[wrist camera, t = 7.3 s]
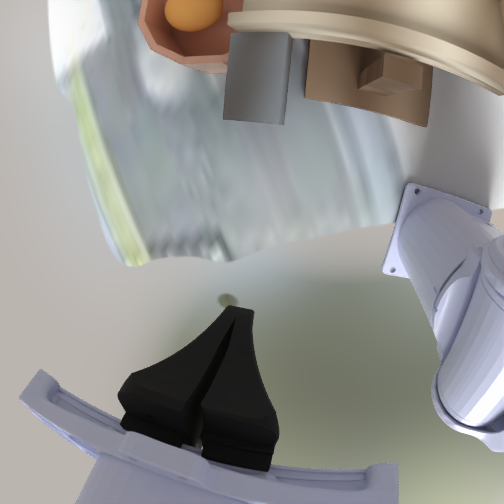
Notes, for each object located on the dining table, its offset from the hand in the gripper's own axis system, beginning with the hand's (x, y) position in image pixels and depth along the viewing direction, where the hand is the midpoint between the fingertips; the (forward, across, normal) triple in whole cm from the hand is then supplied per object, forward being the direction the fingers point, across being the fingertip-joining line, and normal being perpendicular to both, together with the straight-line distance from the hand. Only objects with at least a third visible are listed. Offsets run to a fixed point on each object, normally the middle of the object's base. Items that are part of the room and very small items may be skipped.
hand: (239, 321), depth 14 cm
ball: (+7, +6, -18) cm, 20 cm away
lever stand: (+10, -6, -18) cm, 21 cm away
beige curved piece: (+6, -6, -15) cm, 18 cm away
